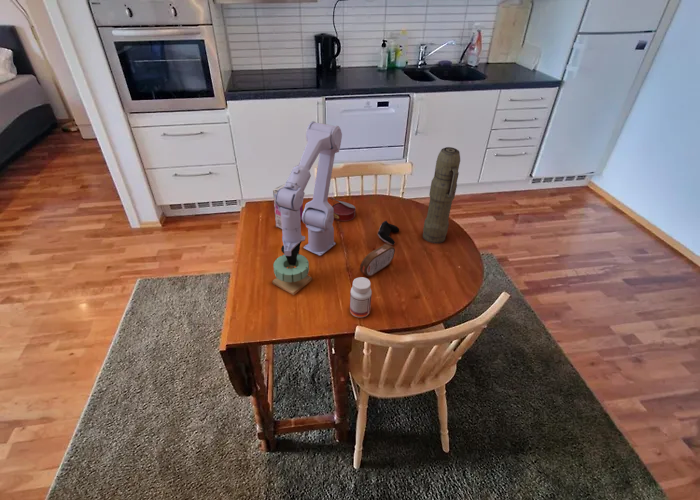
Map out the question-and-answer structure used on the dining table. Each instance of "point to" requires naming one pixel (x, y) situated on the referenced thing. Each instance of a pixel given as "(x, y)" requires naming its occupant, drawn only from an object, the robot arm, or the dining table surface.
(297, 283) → the peg stand
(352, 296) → the pill bottle
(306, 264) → the ring
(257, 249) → the dining table surface
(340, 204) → the canned food
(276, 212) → the candy bar box
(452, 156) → the thermos
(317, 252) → the robot arm
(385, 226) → the gaming controller
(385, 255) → the tin
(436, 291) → the dining table surface
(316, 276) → the dining table surface
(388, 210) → the dining table surface
